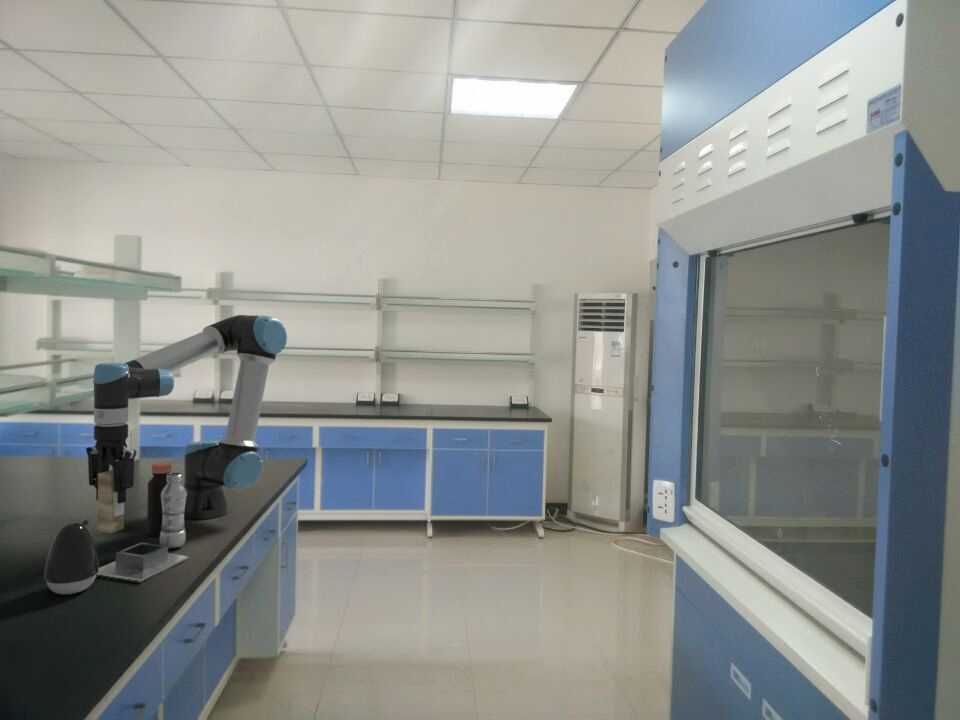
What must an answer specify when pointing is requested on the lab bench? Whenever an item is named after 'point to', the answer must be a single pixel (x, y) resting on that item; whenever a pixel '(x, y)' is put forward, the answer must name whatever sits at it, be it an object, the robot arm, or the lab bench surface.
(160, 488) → the vinegar
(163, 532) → the plastic bottle
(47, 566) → the dark grey egg shape
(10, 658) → the lab bench surface
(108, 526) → the beech rail
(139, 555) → the grey socket base
